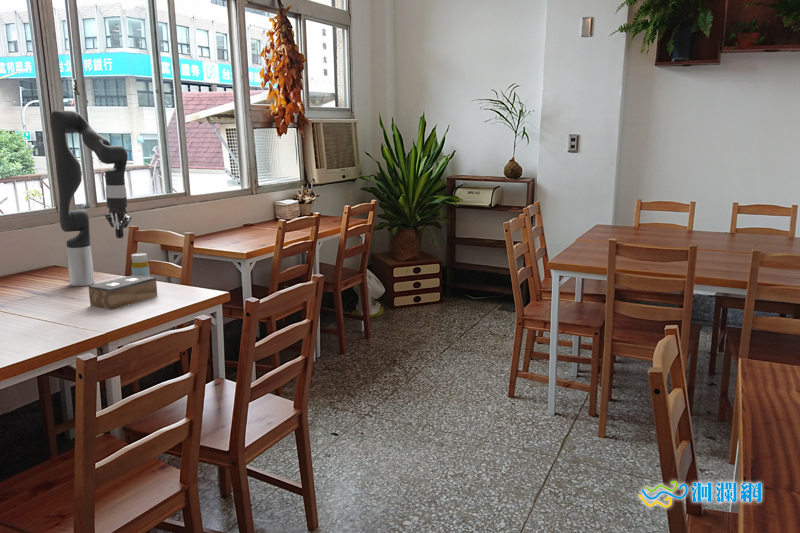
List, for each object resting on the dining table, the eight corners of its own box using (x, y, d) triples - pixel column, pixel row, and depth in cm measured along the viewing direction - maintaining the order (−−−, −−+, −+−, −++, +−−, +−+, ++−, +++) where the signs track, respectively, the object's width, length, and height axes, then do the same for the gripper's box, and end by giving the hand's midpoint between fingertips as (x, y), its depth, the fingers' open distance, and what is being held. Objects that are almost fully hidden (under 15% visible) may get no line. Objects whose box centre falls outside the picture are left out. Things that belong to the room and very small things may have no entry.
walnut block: (90, 305, 233) (88, 285, 231) (136, 292, 252) (135, 274, 251) (111, 309, 228) (109, 289, 226) (157, 296, 247) (155, 277, 245)
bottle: (138, 290, 256) (135, 256, 253) (130, 288, 260) (127, 254, 257) (153, 287, 261) (151, 254, 258) (145, 285, 265) (142, 252, 262)
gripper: (97, 195, 240) (100, 237, 245) (120, 198, 235) (123, 241, 239) (112, 193, 247) (116, 234, 251) (135, 196, 242) (138, 238, 246)
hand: (119, 237), depth 245 cm, fingers closed
